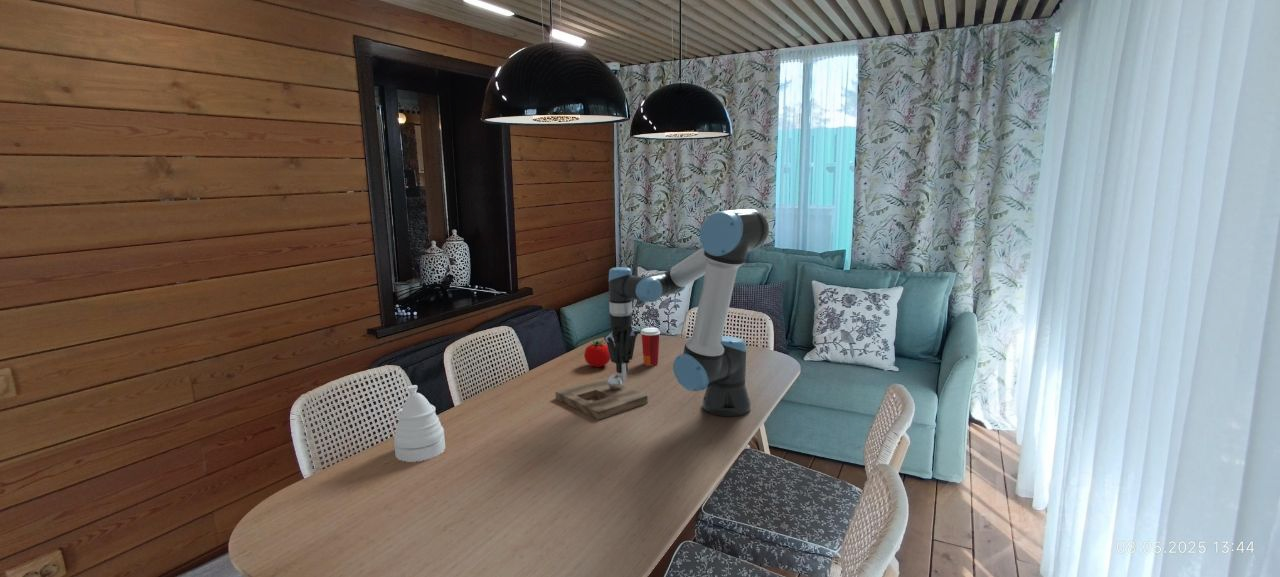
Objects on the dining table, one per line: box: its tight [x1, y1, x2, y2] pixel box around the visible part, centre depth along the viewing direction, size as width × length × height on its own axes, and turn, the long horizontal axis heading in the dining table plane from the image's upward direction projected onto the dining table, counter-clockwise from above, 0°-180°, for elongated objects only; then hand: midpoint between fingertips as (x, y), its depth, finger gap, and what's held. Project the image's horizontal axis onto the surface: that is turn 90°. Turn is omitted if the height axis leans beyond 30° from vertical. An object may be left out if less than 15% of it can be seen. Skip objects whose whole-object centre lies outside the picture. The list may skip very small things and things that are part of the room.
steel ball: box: [607, 374, 623, 390], centre depth 198 cm, size 5×5×5 cm
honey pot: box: [393, 384, 446, 463], centre depth 159 cm, size 13×13×18 cm
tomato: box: [583, 340, 611, 368], centre depth 230 cm, size 10×10×10 cm
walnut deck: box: [555, 377, 648, 421], centre depth 195 cm, size 24×20×2 cm
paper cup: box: [639, 327, 661, 367], centre depth 231 cm, size 8×8×14 cm
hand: (622, 381), depth 200 cm, fingers closed
